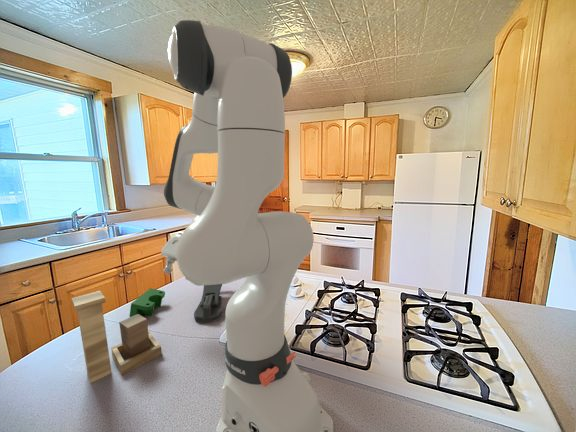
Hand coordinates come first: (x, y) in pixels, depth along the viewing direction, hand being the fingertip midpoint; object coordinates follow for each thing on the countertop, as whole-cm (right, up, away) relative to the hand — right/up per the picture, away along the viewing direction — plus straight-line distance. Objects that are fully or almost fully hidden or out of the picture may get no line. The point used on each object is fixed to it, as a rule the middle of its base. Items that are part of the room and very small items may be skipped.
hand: (177, 276), depth 72 cm
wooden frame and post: (-9, -19, -10) cm, 23 cm away
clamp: (-16, -16, +14) cm, 27 cm away
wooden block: (-7, -19, -8) cm, 21 cm away
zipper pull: (+4, -15, +19) cm, 24 cm away
